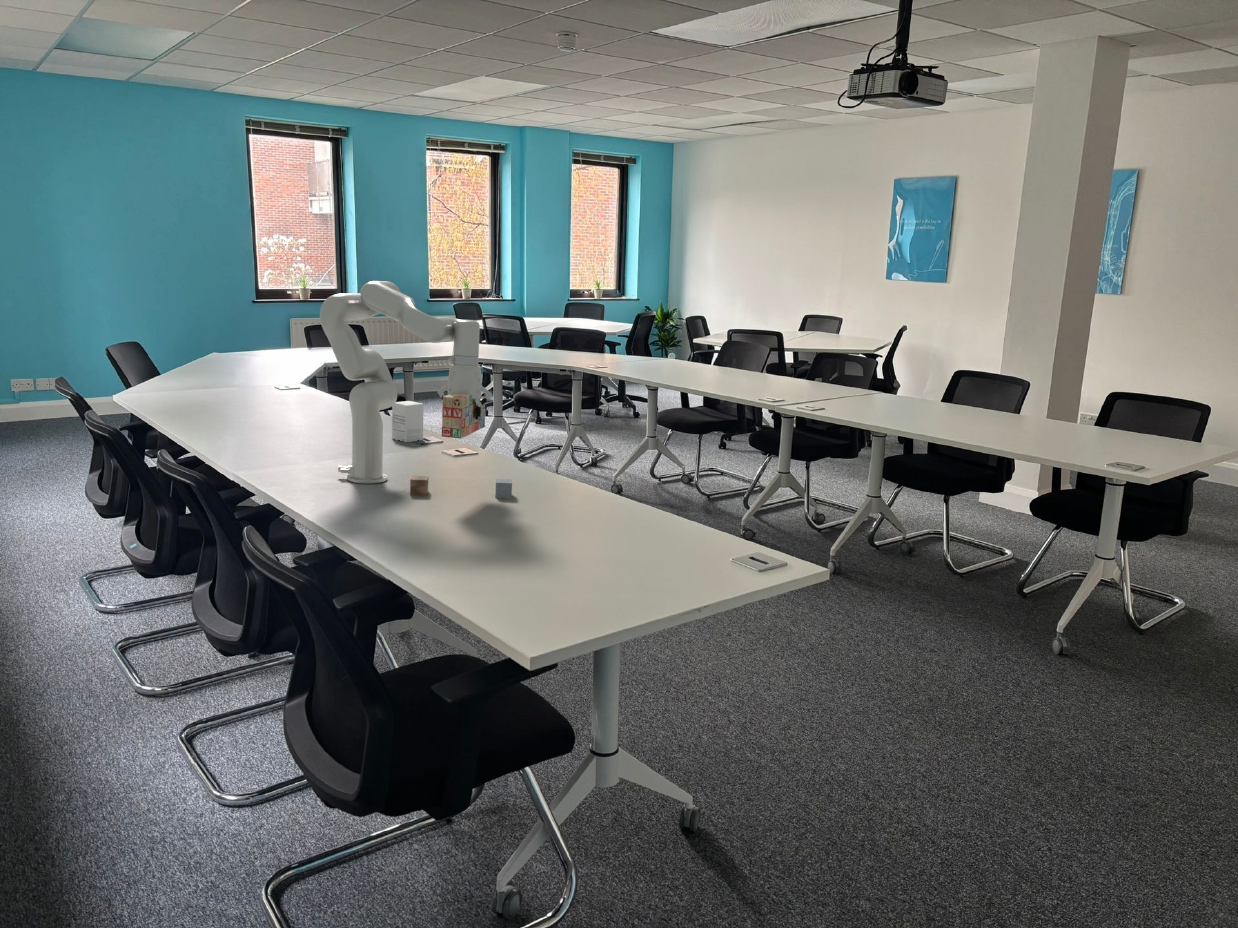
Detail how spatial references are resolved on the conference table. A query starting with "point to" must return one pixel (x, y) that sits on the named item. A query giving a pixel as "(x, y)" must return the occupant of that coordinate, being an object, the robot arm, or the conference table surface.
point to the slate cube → (503, 488)
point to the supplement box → (407, 421)
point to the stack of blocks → (460, 416)
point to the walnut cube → (419, 485)
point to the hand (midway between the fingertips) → (463, 417)
